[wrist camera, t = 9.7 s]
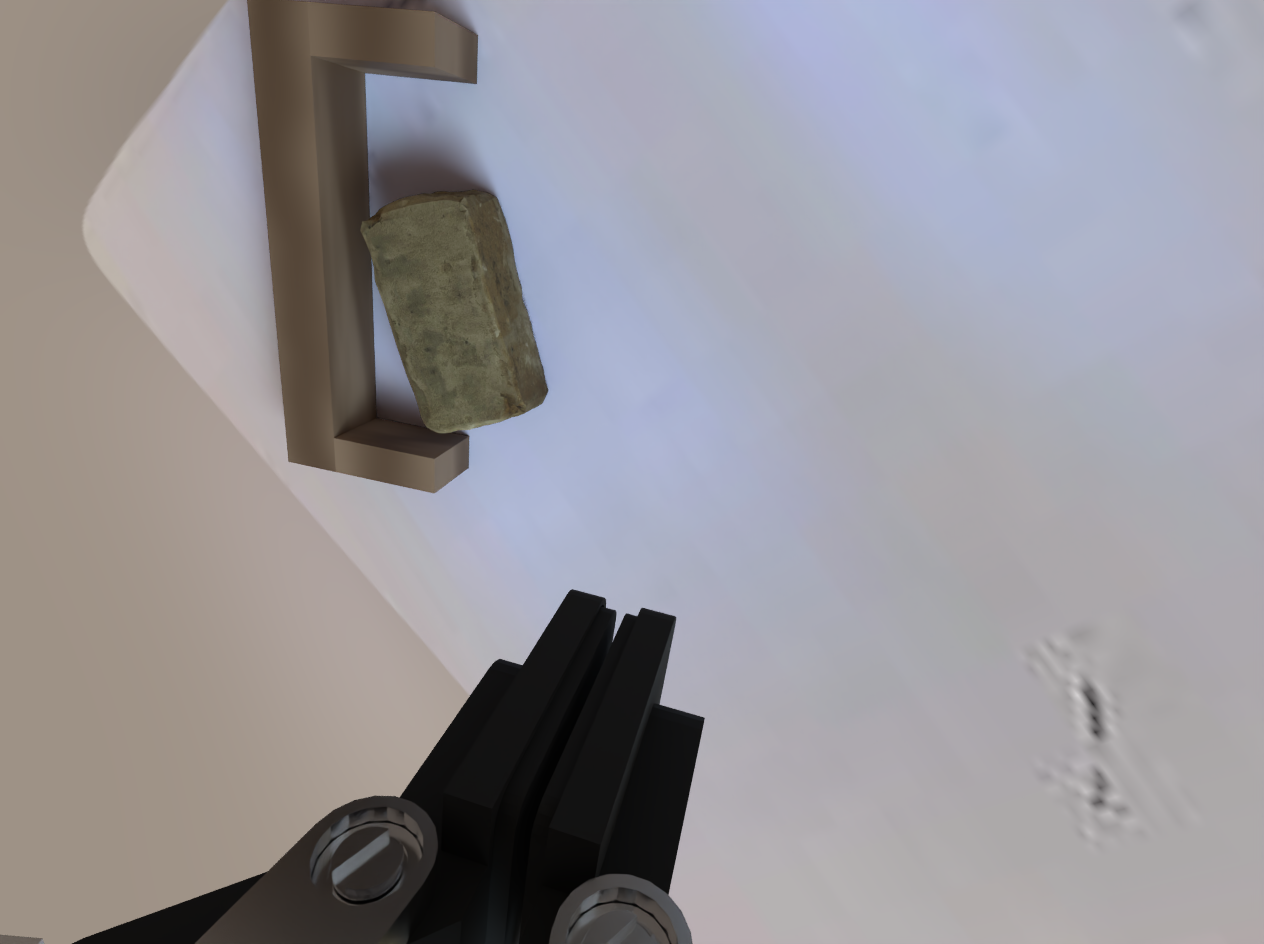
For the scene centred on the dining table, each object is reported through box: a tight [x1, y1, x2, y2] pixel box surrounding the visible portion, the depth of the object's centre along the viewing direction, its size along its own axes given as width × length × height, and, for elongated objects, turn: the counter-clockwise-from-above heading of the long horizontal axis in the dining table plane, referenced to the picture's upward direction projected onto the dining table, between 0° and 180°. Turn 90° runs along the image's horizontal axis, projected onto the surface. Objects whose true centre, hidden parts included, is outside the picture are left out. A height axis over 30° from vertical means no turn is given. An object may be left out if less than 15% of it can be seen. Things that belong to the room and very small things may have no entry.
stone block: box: [360, 190, 548, 433], centre depth 34 cm, size 6×12×5 cm, turn 14°
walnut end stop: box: [247, 0, 478, 493], centre depth 34 cm, size 9×22×4 cm, turn 173°
